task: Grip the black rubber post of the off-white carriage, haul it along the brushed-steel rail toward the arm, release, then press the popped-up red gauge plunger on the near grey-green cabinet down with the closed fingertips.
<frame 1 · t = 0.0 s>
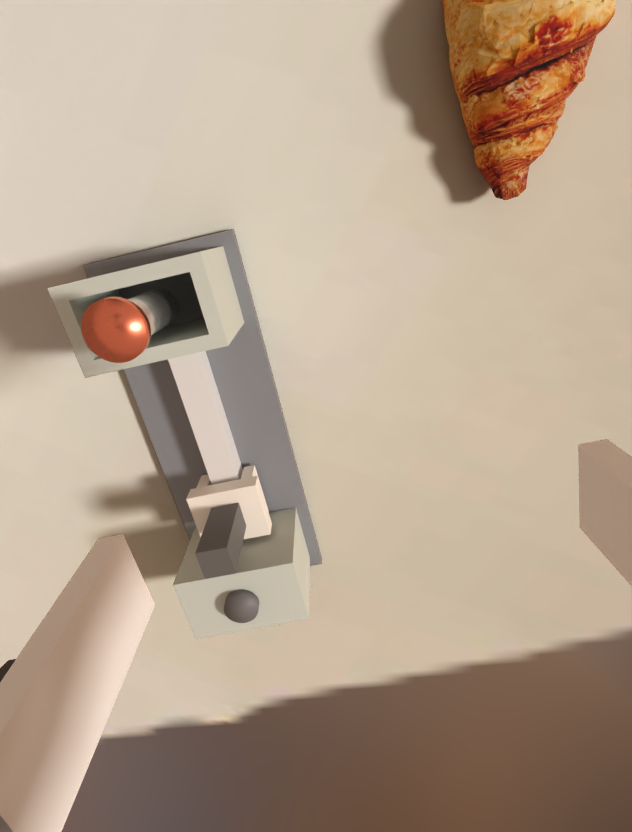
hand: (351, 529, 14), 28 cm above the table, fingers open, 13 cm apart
rail fixture: (219, 430, 43), on the table
gauge plunger: (140, 317, 31), point 9 cm above the table, slide at 0.0 cm
carriage: (226, 524, 39), point 6 cm above the table, slide at 0.0 cm
croissant: (511, 31, 33), on the table
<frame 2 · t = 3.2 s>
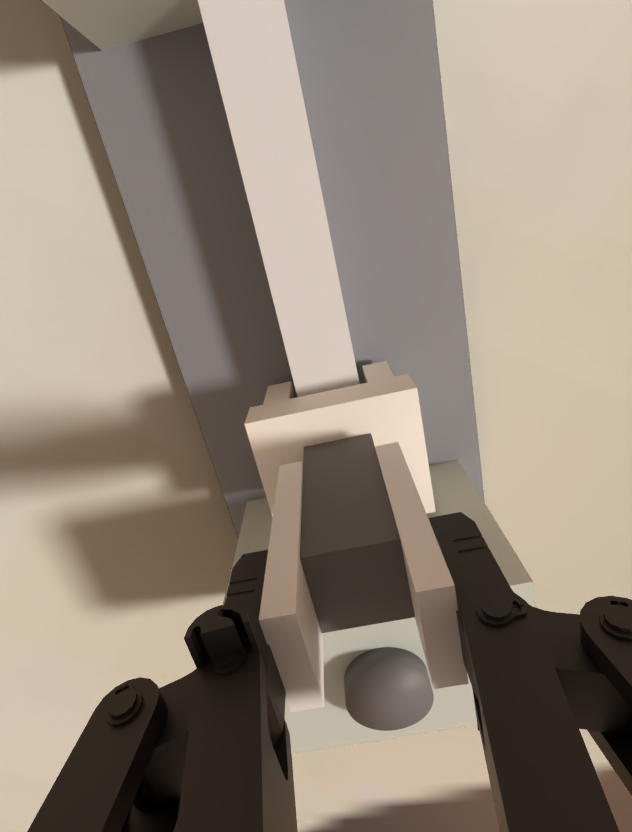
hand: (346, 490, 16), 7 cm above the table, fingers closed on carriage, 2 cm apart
rail fixture: (307, 284, 20), on the table
carriage: (345, 485, 16), point 6 cm above the table, slide at 0.0 cm, touching gripper
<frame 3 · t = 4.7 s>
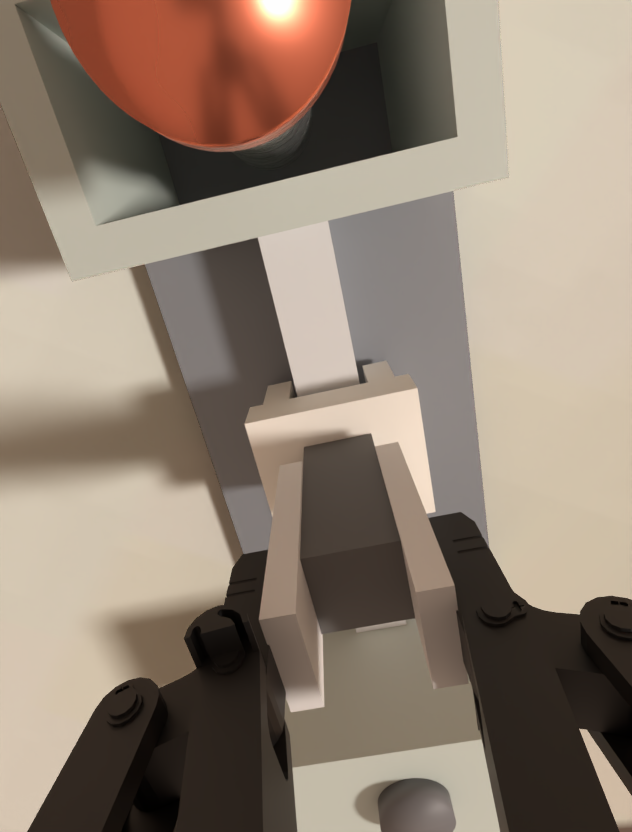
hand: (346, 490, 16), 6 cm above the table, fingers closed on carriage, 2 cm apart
rail fixture: (340, 431, 22), on the table
gauge plunger: (247, 75, 10), point 9 cm above the table, slide at 0.0 cm
carriage: (345, 485, 16), point 6 cm above the table, slide at 6.8 cm, touching gripper
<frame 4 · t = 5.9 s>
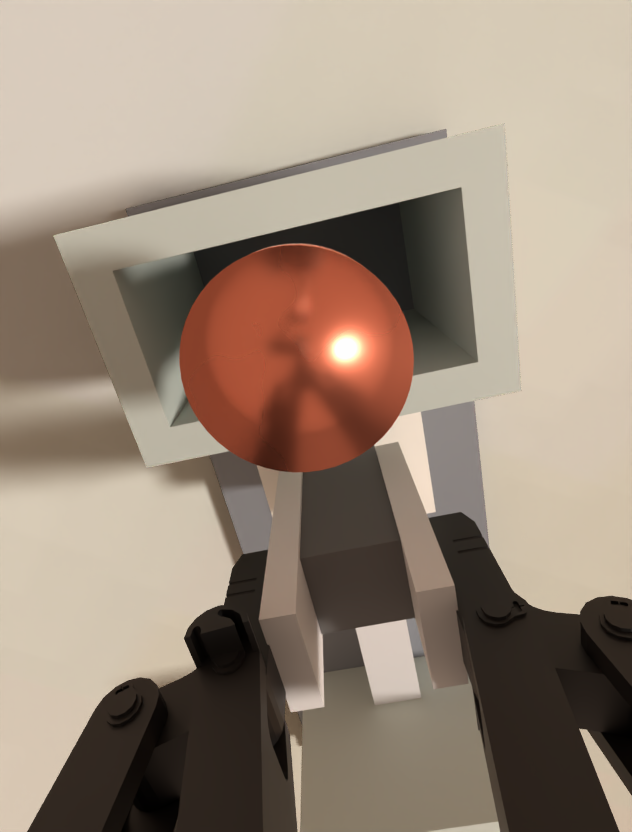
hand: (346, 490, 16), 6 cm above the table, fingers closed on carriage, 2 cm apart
rail fixture: (359, 520, 24), on the table
gauge plunger: (302, 317, 11), point 9 cm above the table, slide at 0.0 cm
carriage: (345, 485, 16), point 6 cm above the table, slide at 11.8 cm, touching gripper
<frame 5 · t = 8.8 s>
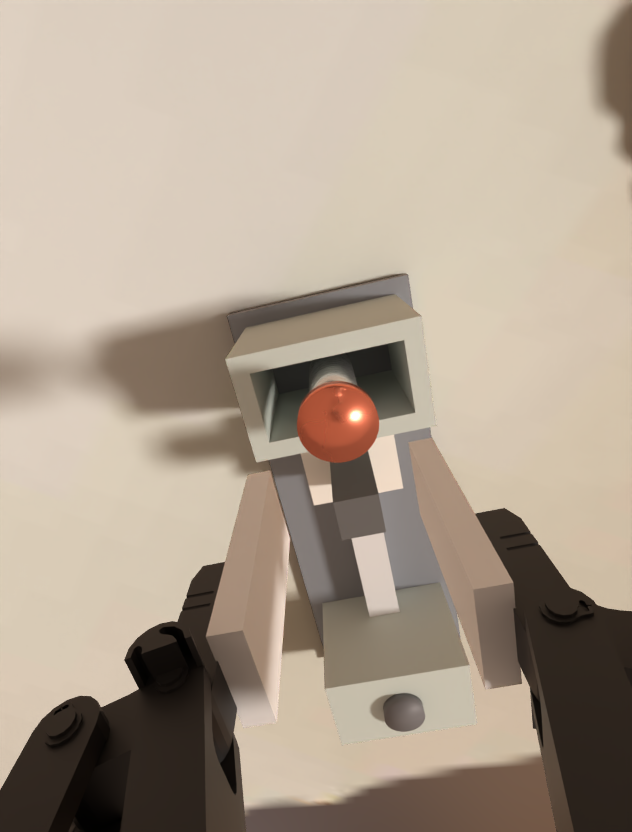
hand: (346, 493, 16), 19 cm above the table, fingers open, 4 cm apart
rail fixture: (360, 497, 37), on the table
gauge plunger: (333, 392, 25), point 9 cm above the table, slide at 0.0 cm
carriage: (352, 472, 29), point 6 cm above the table, slide at 11.8 cm
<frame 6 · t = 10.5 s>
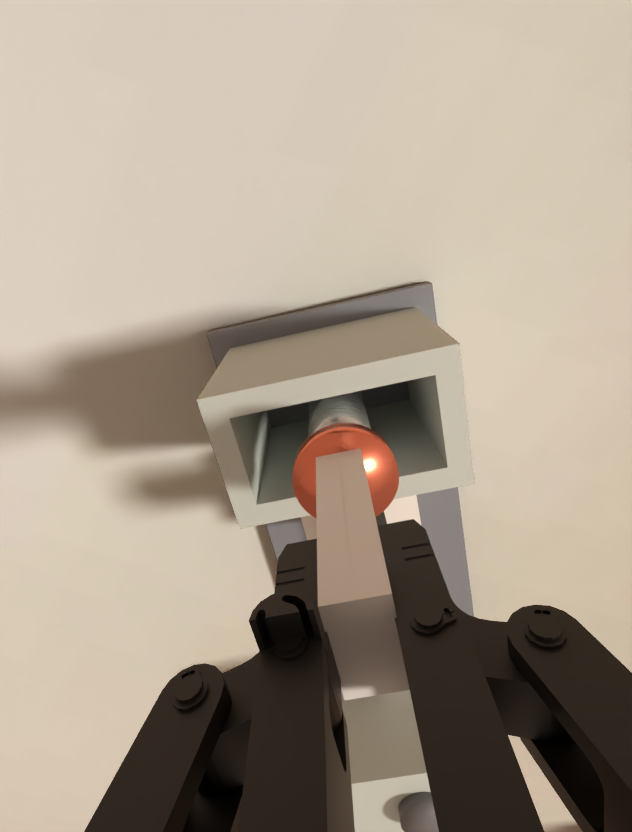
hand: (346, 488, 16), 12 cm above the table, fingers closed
rail fixture: (369, 546, 31), on the table
gauge plunger: (339, 428, 20), point 7 cm above the table, slide at 1.4 cm, touching gripper
carriage: (362, 531, 23), point 6 cm above the table, slide at 11.8 cm
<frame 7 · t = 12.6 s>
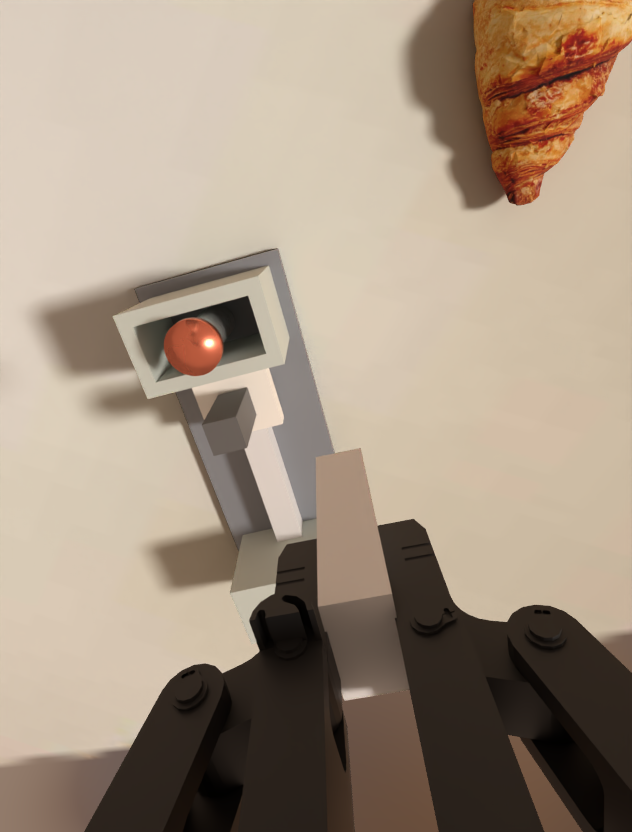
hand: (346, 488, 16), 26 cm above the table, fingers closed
rail fixture: (264, 441, 44), on the table
gauge plunger: (207, 333, 34), point 7 cm above the table, slide at 2.1 cm
carriage: (235, 409, 36), point 6 cm above the table, slide at 11.8 cm
croissant: (536, 41, 33), on the table
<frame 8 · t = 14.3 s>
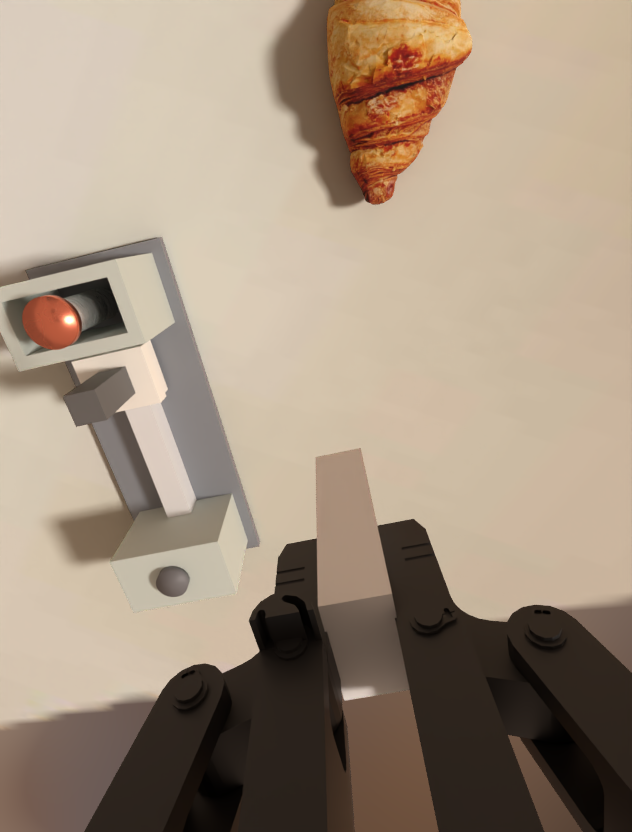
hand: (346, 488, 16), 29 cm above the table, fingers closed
rail fixture: (158, 421, 47), on the table
gauge plunger: (79, 312, 36), point 7 cm above the table, slide at 2.1 cm
carriage: (111, 386, 39), point 6 cm above the table, slide at 11.8 cm
croissant: (392, 54, 36), on the table
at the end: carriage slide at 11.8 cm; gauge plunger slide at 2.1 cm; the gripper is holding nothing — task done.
